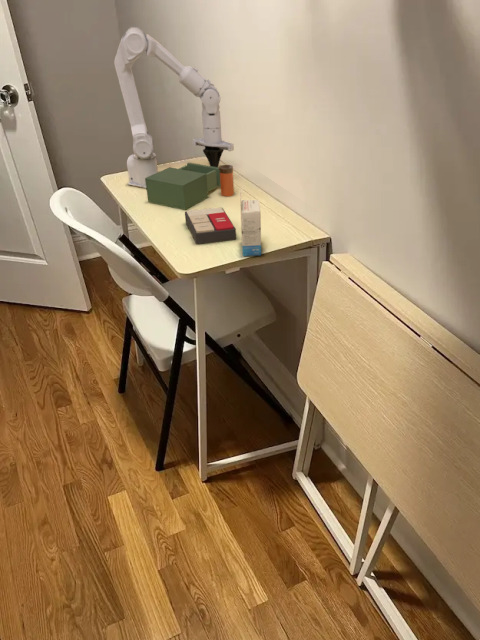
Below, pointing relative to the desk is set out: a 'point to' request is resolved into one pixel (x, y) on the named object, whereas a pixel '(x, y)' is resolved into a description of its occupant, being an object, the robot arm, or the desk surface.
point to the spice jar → (226, 180)
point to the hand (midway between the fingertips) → (214, 170)
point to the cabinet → (177, 188)
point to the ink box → (250, 227)
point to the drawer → (210, 171)
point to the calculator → (210, 225)
